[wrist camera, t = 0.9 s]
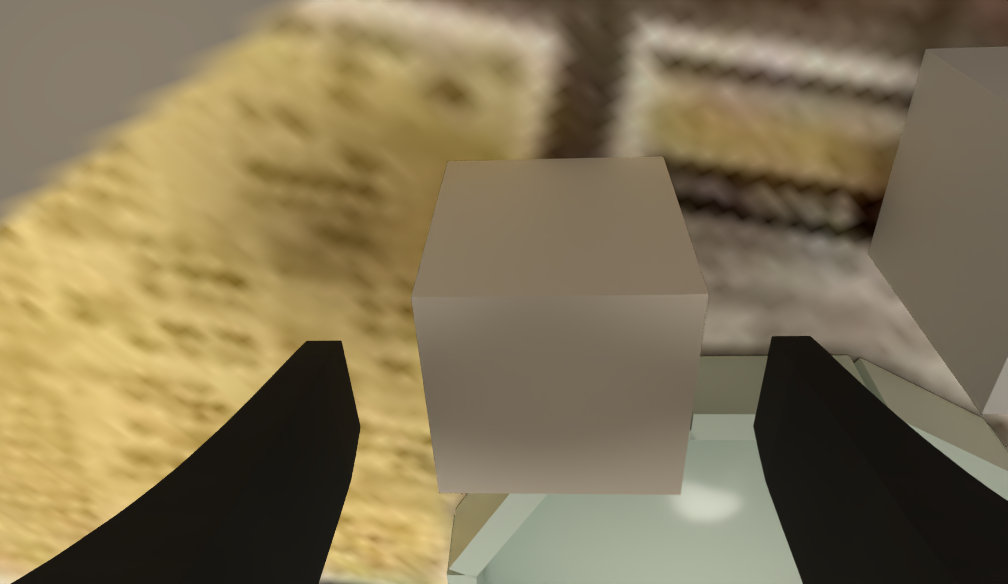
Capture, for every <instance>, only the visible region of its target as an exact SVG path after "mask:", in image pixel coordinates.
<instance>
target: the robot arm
mask: <svg viewBox="0 0 1008 584" xmlns="http://www.w3.org/2000/svg"><path fill="white" fill-rule="evenodd" d="M753 428H754V433H755V437H756V442H757V447H758V452H759V456H760V461H761V465H762V469H763V473H764V477H765V482H766V484H767V487H768V490H769V493H770V496H771V499H772V501H773V504H774V507H775V510H776V512H777V515H778V518H779V521H780V523H781V526H782V529H783V532H784V534H785V537H786V540H787V542H788V545H789V548H790V550H791V553H792V556H793V559H794V561H795V564H796V567H797V569H798V572H799V575H800V577H801V580H802V583H803V584H1008V501H1007V500H1006V499H1004V498H1003V497H1001V496H1000V495H999V494H997V493H996V492H994V491H993V490H991V489H990V488H988V487H987V486H986V485H984V484H983V483H981V482H980V481H979V480H977V479H976V478H975V477H973V476H972V475H971V474H969V473H968V472H967V471H965V470H964V469H963V468H961V467H960V466H959V465H957V464H956V463H955V462H954V461H952V460H951V459H950V458H949V457H947V456H946V455H945V454H944V453H942V452H941V451H940V450H938V449H937V448H936V447H935V446H933V445H932V444H931V443H930V442H928V441H927V440H926V439H925V438H923V437H922V436H921V435H920V434H919V433H917V432H916V431H915V430H914V429H913V428H911V427H910V426H909V425H908V424H907V423H906V422H904V421H903V420H902V419H901V418H900V417H899V416H897V415H896V414H895V413H894V412H893V411H892V410H891V409H889V408H888V407H887V406H886V405H885V404H884V403H883V402H882V401H880V400H879V399H878V398H877V397H876V396H875V395H874V394H873V393H872V392H870V391H869V390H868V389H867V388H866V387H865V386H864V385H863V384H862V383H861V382H860V381H858V380H857V379H856V378H855V377H854V376H853V375H852V374H851V373H850V372H849V371H848V370H847V369H845V368H844V367H843V366H842V365H841V364H840V363H839V362H838V361H837V360H836V359H835V358H834V357H833V356H832V355H830V354H829V353H828V352H827V351H826V350H825V349H824V348H823V347H822V346H821V345H820V344H818V343H817V342H816V341H815V340H814V339H813V338H812V337H811V336H772V339H771V344H770V348H769V353H768V358H767V363H766V367H765V372H764V377H763V382H762V386H761V391H760V396H759V401H758V405H757V410H756V415H755V420H754V425H753ZM359 433H360V423H359V418H358V414H357V409H356V405H355V400H354V396H353V391H352V386H351V382H350V377H349V373H348V368H347V364H346V359H345V355H344V350H343V346H342V341H306V342H305V343H304V344H303V345H302V346H301V347H300V348H299V349H298V350H297V351H296V352H295V353H294V354H293V355H292V356H291V357H290V358H289V359H288V360H287V361H286V362H285V363H284V364H283V365H282V366H281V368H280V369H279V370H278V371H277V372H276V373H275V374H274V375H273V376H272V377H271V378H270V379H269V380H268V381H267V382H266V383H265V384H264V385H263V386H262V387H261V388H260V389H259V390H258V391H257V392H256V394H255V395H254V396H253V397H252V398H251V399H250V400H249V401H248V402H247V403H246V404H245V405H244V406H243V407H242V408H241V409H240V410H239V411H238V412H237V413H236V414H235V415H234V416H233V417H232V418H231V419H230V420H228V421H227V422H226V423H225V424H224V425H223V426H222V427H221V428H220V429H219V430H218V431H217V432H216V433H215V434H214V435H213V436H211V437H210V438H209V439H208V440H207V441H206V442H205V443H204V444H203V445H202V446H201V447H199V448H198V449H197V450H196V451H195V452H194V453H193V454H192V455H191V456H190V457H188V458H187V459H186V460H185V461H184V462H183V463H182V464H181V465H179V466H178V467H177V468H176V469H175V470H174V471H172V472H171V473H170V474H169V475H167V476H166V477H165V478H164V479H163V480H161V481H160V482H159V483H158V484H156V485H155V486H154V487H153V488H151V489H150V490H149V491H147V492H146V493H145V494H144V495H142V496H141V497H140V498H138V499H137V500H136V501H134V502H133V503H132V504H131V505H129V506H128V507H127V508H125V509H124V510H123V511H121V512H120V513H118V514H117V515H116V516H114V517H113V518H111V519H110V520H108V521H107V522H105V523H104V524H103V525H101V526H100V527H98V528H97V529H95V530H94V531H92V532H91V533H89V534H88V535H86V536H85V537H83V538H82V539H81V540H79V541H78V542H76V543H75V544H73V545H72V546H70V547H69V548H67V549H66V550H64V551H63V552H61V553H60V554H58V555H57V556H55V557H54V558H52V559H51V560H49V561H47V562H46V563H44V564H43V565H41V566H39V567H38V568H36V569H34V570H33V571H31V572H29V573H28V574H26V575H25V576H23V577H21V578H20V579H18V580H16V581H15V582H13V583H11V584H319V580H320V577H321V574H322V571H323V568H324V565H325V562H326V559H327V555H328V552H329V549H330V546H331V543H332V540H333V537H334V534H335V530H336V527H337V524H338V521H339V518H340V515H341V511H342V508H343V505H344V502H345V498H346V495H347V492H348V489H349V485H350V482H351V478H352V472H353V467H354V462H355V457H356V451H357V445H358V439H359Z"/></svg>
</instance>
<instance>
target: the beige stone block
mask: <svg viewBox="0 0 1008 584" xmlns="http://www.w3.org/2000/svg"><path fill="white" fill-rule="evenodd" d="M708 297H709V293H708V290H707V287H706V284H705V281H704V278H703V275H702V272H701V269H700V266H699V263H698V260H697V257H696V254H695V251H694V248H693V245H692V242H691V239H690V236H689V233H688V230H687V227H686V224H685V221H684V218H683V215H682V212H681V209H680V206H679V203H678V200H677V197H676V194H675V191H674V188H673V185H672V182H671V179H670V176H669V173H668V170H667V167H666V164H665V161H664V158H663V156H653V157H608V158H563V159H519V160H474V161H448V162H447V166H446V170H445V173H444V177H443V181H442V185H441V188H440V192H439V196H438V199H437V203H436V207H435V210H434V214H433V218H432V222H431V225H430V229H429V233H428V236H427V240H426V244H425V248H424V251H423V255H422V259H421V262H420V266H419V270H418V273H417V277H416V281H415V285H414V288H413V292H412V296H411V300H412V307H413V314H414V321H415V328H416V335H417V342H418V349H419V356H420V363H421V370H422V377H423V384H424V391H425V398H426V405H427V412H428V419H429V426H430V433H431V440H432V447H433V454H434V461H435V468H436V475H437V482H438V489H439V493H506V494H636V495H681V488H682V481H683V474H684V467H685V460H686V453H687V446H688V439H689V432H690V424H691V417H692V410H693V403H694V396H695V389H696V382H697V375H698V368H699V360H700V353H701V346H702V339H703V332H704V325H705V318H706V311H707V304H708Z"/></svg>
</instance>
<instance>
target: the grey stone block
mask: <svg viewBox="0 0 1008 584" xmlns="http://www.w3.org/2000/svg"><path fill="white" fill-rule="evenodd" d="M868 255H869V256H870V258H871V259H872V261H873V262H874V263H875V265H876V266H877V268H878V269H879V270H880V272H881V273H882V275H883V276H884V277H885V279H886V280H887V282H888V283H889V285H890V286H891V287H892V289H893V290H894V292H895V293H896V294H897V296H898V297H899V299H900V300H901V301H902V303H903V304H904V306H905V307H906V308H907V310H908V311H909V313H910V314H911V316H912V317H913V318H914V320H915V321H916V323H917V324H918V325H919V327H920V328H921V330H922V331H923V332H924V334H925V335H926V337H927V338H928V339H929V341H930V342H931V344H932V345H933V347H934V348H935V349H936V351H937V352H938V354H939V355H940V356H941V358H942V359H943V361H944V362H945V363H946V365H947V366H948V368H949V369H950V370H951V372H952V373H953V375H954V376H955V378H956V379H957V380H958V382H959V383H960V385H961V386H962V387H963V389H964V390H965V392H966V393H967V394H968V396H969V397H970V399H971V400H972V401H973V403H974V404H975V406H976V407H977V408H978V410H979V411H980V413H981V414H1008V46H1001V47H970V48H938V49H926V50H925V53H924V57H923V60H922V64H921V67H920V71H919V74H918V78H917V82H916V85H915V89H914V92H913V96H912V99H911V103H910V106H909V110H908V114H907V117H906V121H905V124H904V128H903V131H902V135H901V138H900V142H899V146H898V149H897V153H896V156H895V160H894V163H893V167H892V170H891V174H890V178H889V181H888V185H887V188H886V192H885V195H884V199H883V202H882V206H881V209H880V213H879V217H878V220H877V224H876V227H875V231H874V234H873V238H872V241H871V245H870V249H869V252H868Z"/></svg>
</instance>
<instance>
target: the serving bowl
mask: <svg viewBox="0 0 1008 584" xmlns="http://www.w3.org/2000/svg"><path fill="white" fill-rule="evenodd" d="M832 356H833V357H834V358H835V359H836V360H837V361H838V362H839V363H840V364H841V365H842V366H843V367H844V368H845V369H847V370H848V371H849V372H850V373H851V374H852V375H853V376H854V377H855V378H856V379H857V380H858V381H860V382H861V383H862V384H863V385H864V386H865V387H866V388H867V389H868V390H869V391H870V392H872V393H873V394H874V395H875V396H876V397H877V398H878V399H879V400H880V401H882V402H883V403H884V404H885V405H886V406H887V407H888V408H889V409H891V410H892V411H893V412H894V413H895V414H896V415H897V416H899V417H900V418H901V419H902V420H903V421H904V422H906V423H907V424H908V425H909V426H910V427H911V428H913V429H914V430H915V431H916V432H917V433H919V434H920V435H921V436H922V437H923V438H925V439H926V440H927V441H928V442H930V443H931V444H932V445H933V446H935V447H936V448H937V449H938V450H940V451H941V452H942V453H944V454H945V455H946V456H947V457H949V458H950V459H951V460H952V461H954V462H955V463H956V464H957V465H959V466H960V467H961V468H963V469H964V470H965V471H967V472H968V473H969V474H971V475H972V476H973V477H975V478H976V479H977V480H979V481H980V482H981V483H983V484H984V485H986V486H987V487H988V488H990V489H991V490H993V491H994V492H996V493H997V494H999V495H1000V496H1001V497H1003V498H1004V499H1006V500H1007V501H1008V451H1007V449H1006V448H1005V447H1004V445H1003V444H1002V442H1001V441H1000V440H999V438H998V437H997V435H996V434H995V432H994V431H993V430H992V428H991V427H990V425H989V424H987V423H986V422H985V421H984V419H983V418H981V417H979V416H977V415H975V414H973V413H971V412H969V411H967V410H965V409H963V408H961V407H959V406H957V405H955V404H953V403H951V402H949V401H947V400H945V399H943V398H941V397H939V396H937V395H935V394H933V393H931V392H929V391H927V390H925V389H923V388H921V387H919V386H917V385H915V384H913V383H910V382H908V381H906V380H904V379H902V378H900V377H898V376H896V375H894V374H892V373H890V372H888V371H886V370H884V369H882V368H880V367H878V366H876V365H874V364H872V363H870V362H868V361H866V360H864V359H862V358H859V359H858V360H857V361H856V362H855V363H853V361H852V360H851V358H850V356H849V355H832ZM767 358H768V356H700V360H699V368H698V375H697V382H696V389H695V396H694V403H693V410H692V417H691V424H690V432H689V439H688V446H687V453H686V460H685V467H684V474H683V481H682V488H681V495H636V494H506V493H468V494H467V495H466V496H465V498H464V499H463V500H462V502H461V503H460V504H459V506H458V507H457V508H456V514H455V515H454V522H453V530H452V538H451V546H450V554H449V562H448V570H447V579H448V584H803V583H802V580H801V577H800V575H799V572H798V569H797V567H796V564H795V561H794V559H793V556H792V553H791V550H790V548H789V545H788V542H787V540H786V537H785V534H784V532H783V529H782V526H781V523H780V521H779V518H778V515H777V512H776V510H775V507H774V504H773V501H772V499H771V496H770V493H769V490H768V487H767V484H766V482H765V477H764V473H763V469H762V465H761V461H760V456H759V452H758V447H757V442H756V437H755V433H754V428H753V425H754V420H755V415H756V410H757V405H758V401H759V396H760V391H761V386H762V382H763V377H764V372H765V367H766V363H767Z"/></svg>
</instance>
